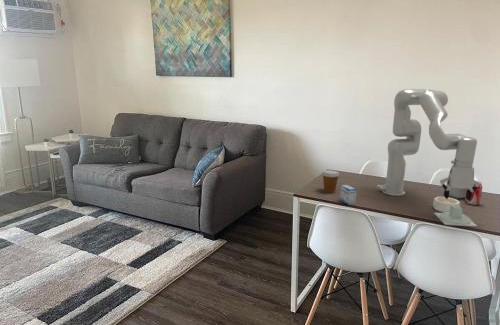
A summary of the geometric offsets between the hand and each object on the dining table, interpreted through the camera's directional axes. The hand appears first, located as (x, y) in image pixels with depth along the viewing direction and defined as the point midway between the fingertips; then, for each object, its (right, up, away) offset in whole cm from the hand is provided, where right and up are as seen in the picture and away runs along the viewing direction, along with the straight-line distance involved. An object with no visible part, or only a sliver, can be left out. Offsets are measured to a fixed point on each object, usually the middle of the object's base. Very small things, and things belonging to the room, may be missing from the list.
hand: (456, 198), depth 177 cm
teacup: (+19, -2, +37) cm, 42 cm away
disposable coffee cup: (-52, 0, +41) cm, 66 cm away
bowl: (+3, -7, +15) cm, 17 cm away
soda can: (+22, -5, +25) cm, 34 cm away
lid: (0, -10, +2) cm, 10 cm away
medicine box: (-46, -4, +24) cm, 52 cm away
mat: (0, -10, +2) cm, 11 cm away
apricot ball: (+3, -4, +15) cm, 16 cm away
